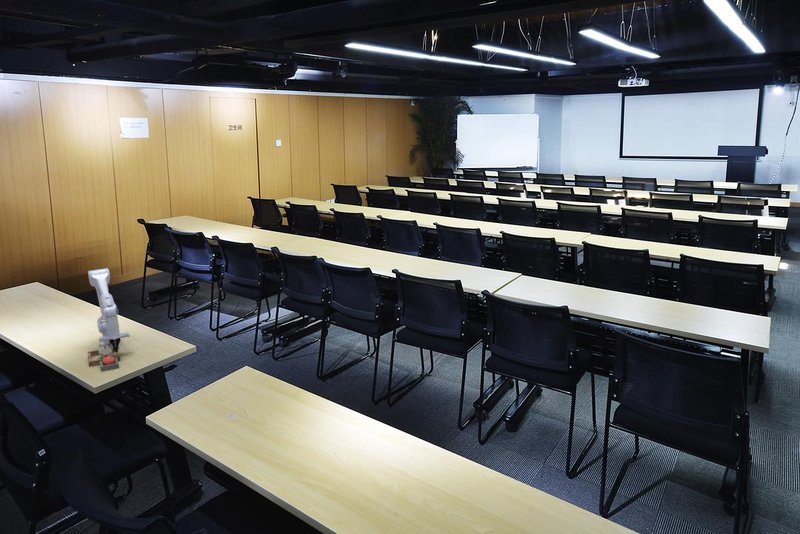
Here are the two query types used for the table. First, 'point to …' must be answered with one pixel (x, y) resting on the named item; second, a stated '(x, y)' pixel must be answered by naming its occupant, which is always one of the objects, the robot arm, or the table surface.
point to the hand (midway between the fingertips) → (116, 351)
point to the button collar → (109, 367)
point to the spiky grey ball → (105, 351)
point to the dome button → (108, 360)
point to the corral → (97, 362)
